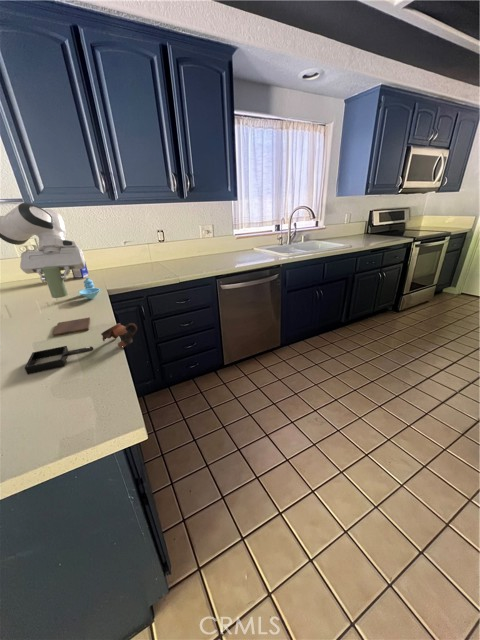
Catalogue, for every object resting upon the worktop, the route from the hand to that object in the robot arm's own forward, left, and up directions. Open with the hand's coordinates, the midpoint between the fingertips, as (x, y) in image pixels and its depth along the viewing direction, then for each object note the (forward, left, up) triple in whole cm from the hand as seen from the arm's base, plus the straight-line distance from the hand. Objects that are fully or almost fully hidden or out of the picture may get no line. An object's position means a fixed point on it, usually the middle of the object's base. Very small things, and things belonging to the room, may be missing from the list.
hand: (54, 279), depth 97 cm
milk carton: (-4, +96, -21) cm, 98 cm away
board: (0, +4, -21) cm, 21 cm away
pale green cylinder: (0, +1, -6) cm, 6 cm away
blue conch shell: (+5, +45, -21) cm, 50 cm away
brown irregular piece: (+18, -19, -21) cm, 34 cm away
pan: (+1, -23, -21) cm, 31 cm away
